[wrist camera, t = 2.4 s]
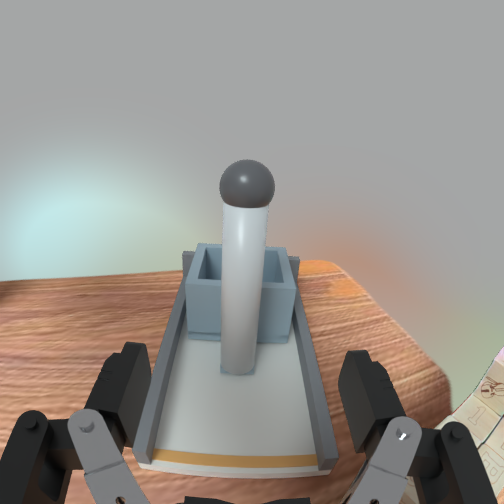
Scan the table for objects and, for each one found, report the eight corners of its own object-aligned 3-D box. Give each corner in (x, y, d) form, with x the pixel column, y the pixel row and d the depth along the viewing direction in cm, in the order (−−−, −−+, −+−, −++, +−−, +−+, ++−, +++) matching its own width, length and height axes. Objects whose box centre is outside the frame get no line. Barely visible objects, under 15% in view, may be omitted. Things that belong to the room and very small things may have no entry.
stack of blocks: (379, 576, 10) (498, 523, 5) (330, 521, 15) (406, 437, 10) (516, 427, 20) (581, 332, 14) (480, 396, 25) (534, 301, 19)
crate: (179, 380, 26) (165, 162, 18) (198, 291, 39) (199, 139, 31) (293, 385, 26) (332, 171, 18) (279, 295, 40) (296, 144, 32)
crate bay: (140, 467, 18) (121, 427, 16) (185, 292, 41) (183, 251, 39) (328, 474, 19) (351, 436, 16) (292, 297, 42) (298, 256, 39)
